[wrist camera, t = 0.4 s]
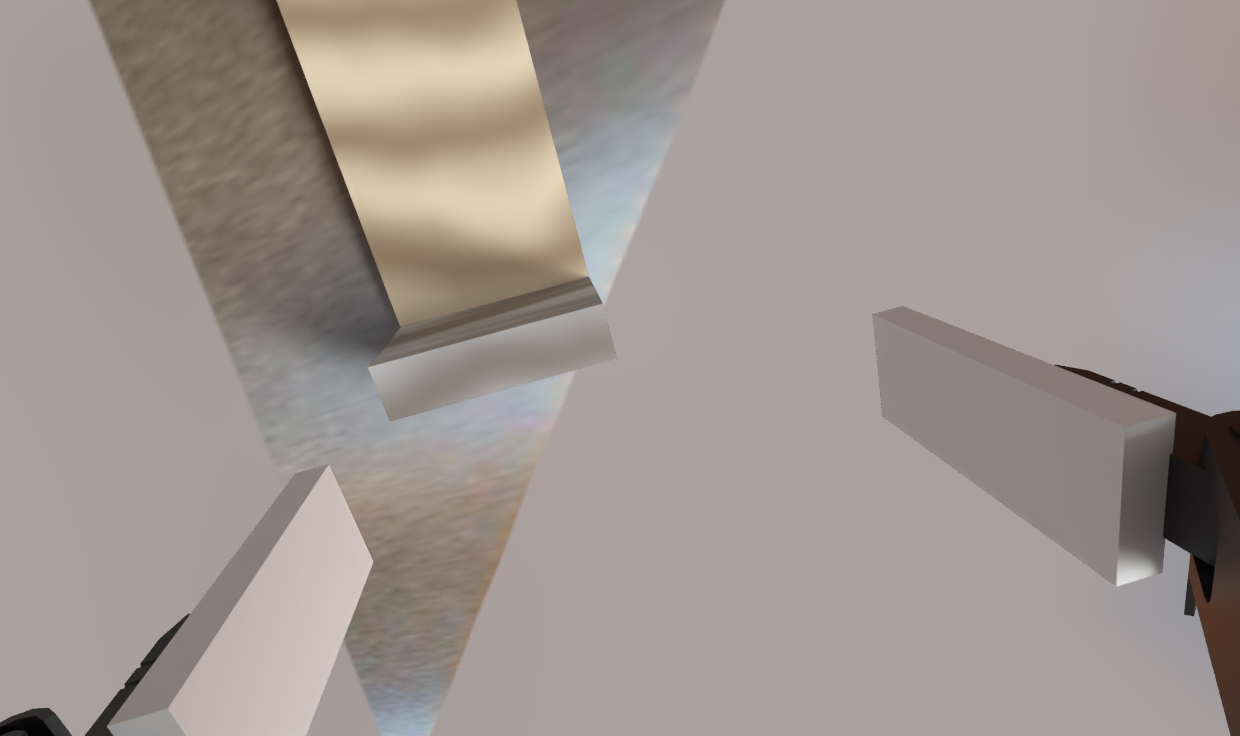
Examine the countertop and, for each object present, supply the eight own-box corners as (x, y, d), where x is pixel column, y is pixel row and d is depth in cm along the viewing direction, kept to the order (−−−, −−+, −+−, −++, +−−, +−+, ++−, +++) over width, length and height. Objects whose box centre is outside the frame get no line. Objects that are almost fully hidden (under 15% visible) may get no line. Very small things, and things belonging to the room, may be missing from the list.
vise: (234, -133, 31) (114, -254, 22) (465, -186, 32) (440, -324, 23) (423, 371, 40) (393, 430, 31) (600, 323, 41) (619, 367, 32)
